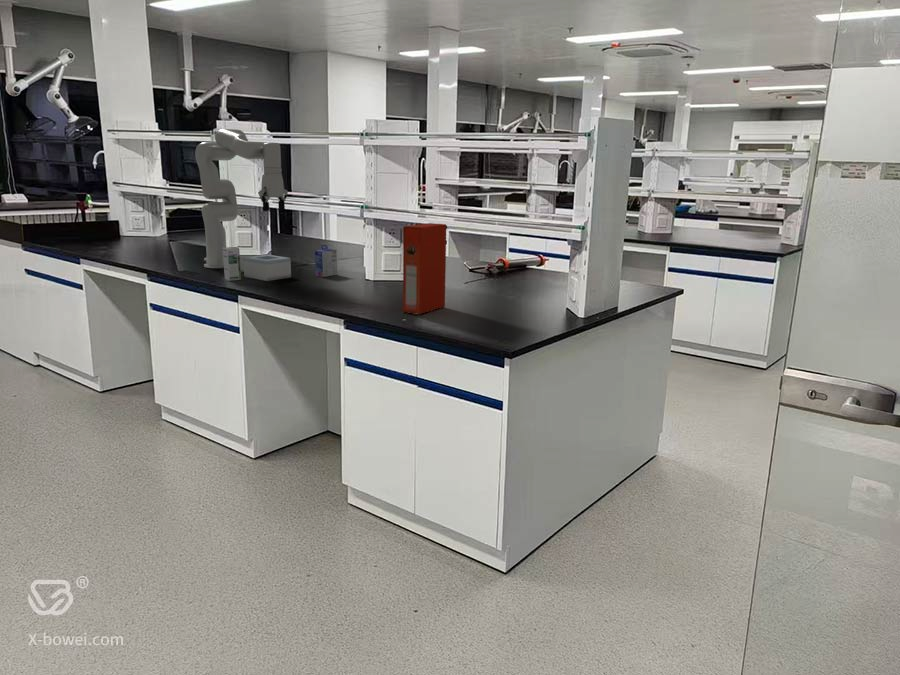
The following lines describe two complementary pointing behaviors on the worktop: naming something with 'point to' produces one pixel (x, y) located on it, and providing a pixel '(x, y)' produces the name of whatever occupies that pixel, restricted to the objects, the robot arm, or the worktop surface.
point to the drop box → (267, 267)
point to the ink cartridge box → (326, 262)
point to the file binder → (424, 267)
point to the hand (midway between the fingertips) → (274, 210)
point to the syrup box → (232, 263)
